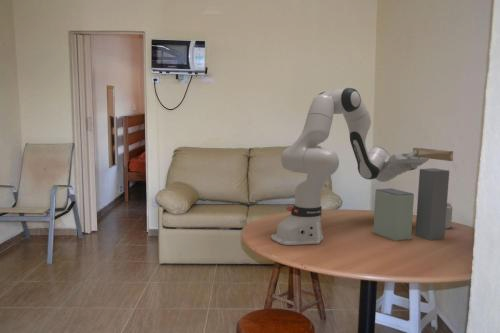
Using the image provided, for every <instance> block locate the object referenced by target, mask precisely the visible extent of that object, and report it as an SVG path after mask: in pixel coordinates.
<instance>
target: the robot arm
mask: <svg viewBox="0 0 500 333" xmlns="http://www.w3.org/2000/svg"><path fill="white" fill-rule="evenodd" d="M306 115H307V116H306V119H305V122H304V126H303V129H302V132H301V134H300V136H299V137H298V138H297V140H295V142H294V143H292V144H291V145H290V146H287V148H285V149H284V150H283V151H282V154H281V156H280V163H281V166H282V167H283V169H284V170H287V171H290V172H293V173H299V174H307V175H306V179H305V180H304V181H302V182H299V184H297V185H296V187H295V190H294V205H293V206H290V205H287V207H286V211H288V212H290V214H289V215H288V216H286V217H285V218H284V219H283V220H282V221H281V222H279V223H278V224H277V228H276V233H274V234H271V235H270V236H271V237H270V238H271V240H272V241H274V242H275V243H278V244H281V245H283V246H297V245H301V246H302V245H312V244H313V245H317V244H321V242H322V241H323V240H324V235H323V231H322V223H321V222H322V221H321V220H322V219H321V218H322V210H323V208H322V204H321V203H322V192H323V188H324V185H325V183H326V181H327V180H328V178H329V177H331V176H332V175H333V174H335V173H336V172H337V170H338V168H339V167H340V166H339V165H340V158H339V156H338V154H337V153H336V151H334V150H330V149H327V148H316V147H317V146H318V145H320V144H322V143H325V141H326V140H327V139H328V138H329V137H330V131H331V127H332V125H333V124H332V123H333V118H334V115H343V117H344V121H345V122H346V125H347V129H348V132H349V142H350V144H351V148H352V152H353V155H354V157H355V161H356V163H357V170H358V174H359V176H360V177H362V178H363V179H365V180H375V179H376V181H378V182H379V183H381V182H382V183H385V182H388V181H391V180H393V179H395V178H397V177H398V176H400V175H402V174H404V173H406V172H410V171H413V170H417V169H418V167H419V166H422V165H423V164H425V163H426V162H428V161H429V160H430V159H429V158H421V157H413V156H414V155H417V154H418V153H419V152H418V150H414V151H413V150H412V151H410V152H396V153H393V154H392V155H390V153H389V152H388V151H387V150H386V149H385V148H383V147H380V146H372V147H371V148H370V150H369V151H368V150H367V146H366V140H367V136H368V133H369V130H370V128H371V124H372V118H371V115H370V113H369V110H368V109H367V106H366V104H365V103H364V101H363V99H362V97H361V95H360V93H359V92H358V90H357V89H356V88H352V87H346V88H338V89H337V88H336V89H335V88H334V89H331V90H327V91H323V92H320V93H318V94H317V95H315V96H314V98H313V99H312V100H311V103H310V106H309V109H308V112H307V114H306Z"/></svg>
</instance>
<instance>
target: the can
mask: <svg viewBox="0 0 500 333" xmlns="http://www.w3.org/2000/svg"><path fill="white" fill-rule="evenodd" d="M452 214H453V206H452V203H450V202H447V209H446V222H445V230H448V229H450V228H451V227H452V219H453V218H452V217H453V215H452Z"/></svg>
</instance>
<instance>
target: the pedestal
mask: <svg viewBox="0 0 500 333" xmlns="http://www.w3.org/2000/svg"><path fill="white" fill-rule="evenodd" d="M418 177H419V178H418V188H417V189H418V190H417V202H416V203H417V204H416V220H415V236H416V237H419V238H422V239H425V240H429V241H431V240H432V241H433V240H439V239H444V238H445V235H446V234H445V232H446V229H445V222H446V209H447V203H448V193H449V180H450V170H448V169H441V168H437V167H436V168H419V175H418Z"/></svg>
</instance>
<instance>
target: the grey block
mask: <svg viewBox="0 0 500 333" xmlns="http://www.w3.org/2000/svg"><path fill="white" fill-rule="evenodd" d="M414 198H415V193H412V192H407V191H404V190H400V189H395V188H390V187H389V188H376V189H375V195H374V214H373V229H372V230H373V231H372V232H373V234H375V235H378V236H381V237H385V238H387V239H390V240H393V241H395V242H396V241H403V240H411V239H412V229H413V228H412V227H413V214H414Z"/></svg>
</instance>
